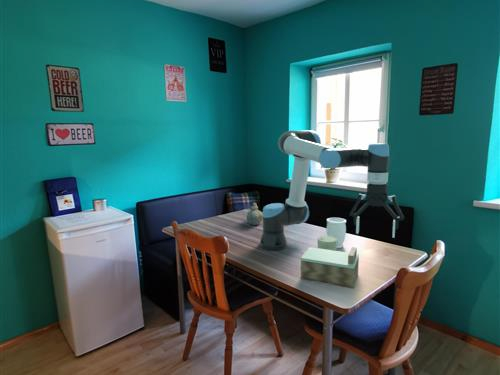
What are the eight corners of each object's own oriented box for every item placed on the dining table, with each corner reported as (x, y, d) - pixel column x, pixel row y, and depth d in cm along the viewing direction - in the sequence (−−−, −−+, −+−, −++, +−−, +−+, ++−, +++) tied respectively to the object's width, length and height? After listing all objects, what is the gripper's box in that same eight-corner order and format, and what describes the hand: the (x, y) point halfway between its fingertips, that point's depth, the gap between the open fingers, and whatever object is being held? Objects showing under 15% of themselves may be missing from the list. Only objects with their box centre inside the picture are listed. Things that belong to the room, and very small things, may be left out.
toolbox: (300, 278, 137) (300, 261, 136) (309, 266, 150) (309, 250, 148) (353, 288, 128) (354, 269, 126) (358, 274, 140) (358, 257, 139)
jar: (346, 249, 169) (347, 222, 166) (326, 248, 171) (327, 222, 169) (344, 243, 179) (345, 217, 177) (325, 242, 181) (326, 216, 179)
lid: (300, 260, 136) (300, 250, 135) (309, 249, 148) (309, 239, 147) (354, 269, 126) (354, 258, 125) (358, 256, 139) (359, 246, 138)
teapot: (263, 228, 210) (263, 206, 208) (246, 228, 210) (245, 206, 208) (262, 219, 231) (262, 199, 229) (247, 219, 231) (246, 199, 229)
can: (314, 258, 159) (315, 235, 157) (332, 257, 160) (333, 234, 158) (320, 265, 150) (320, 241, 148) (339, 264, 151) (339, 240, 149)
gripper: (343, 182, 126) (341, 233, 129) (413, 185, 115) (409, 241, 119) (346, 180, 133) (344, 228, 136) (412, 182, 122) (409, 235, 125)
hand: (375, 234), depth 127 cm, fingers open, 13 cm apart
